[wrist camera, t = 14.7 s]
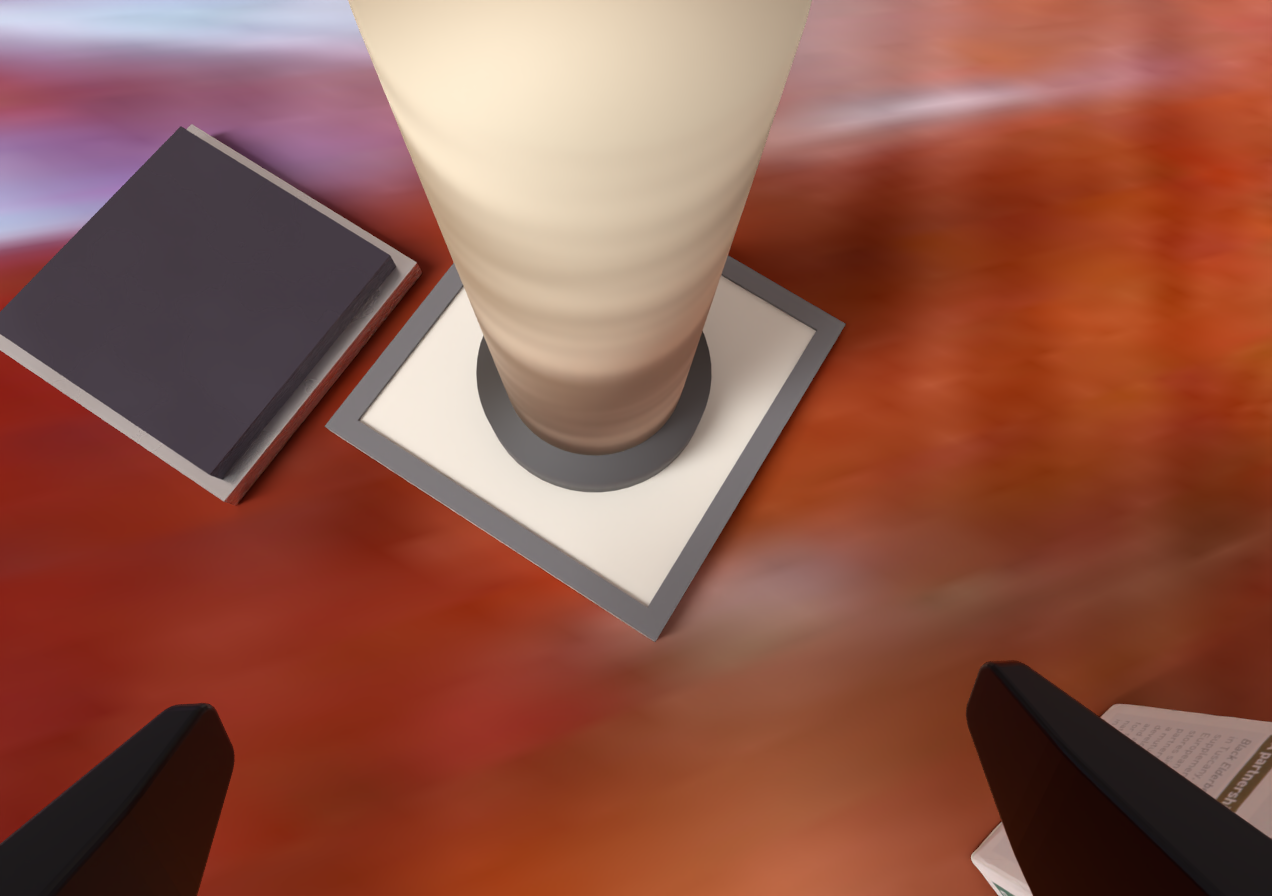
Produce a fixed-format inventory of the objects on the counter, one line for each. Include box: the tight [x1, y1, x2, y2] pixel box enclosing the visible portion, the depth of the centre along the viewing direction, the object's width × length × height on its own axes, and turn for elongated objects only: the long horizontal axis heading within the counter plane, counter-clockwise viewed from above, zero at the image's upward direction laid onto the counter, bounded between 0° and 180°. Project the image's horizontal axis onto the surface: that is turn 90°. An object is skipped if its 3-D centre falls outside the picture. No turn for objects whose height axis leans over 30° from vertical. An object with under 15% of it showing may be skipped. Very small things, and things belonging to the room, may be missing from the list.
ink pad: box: [0, 124, 422, 505], centre depth 19 cm, size 8×8×1 cm
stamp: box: [348, 0, 812, 492], centre depth 13 cm, size 6×6×13 cm
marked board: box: [325, 256, 846, 642], centre depth 19 cm, size 10×10×1 cm
